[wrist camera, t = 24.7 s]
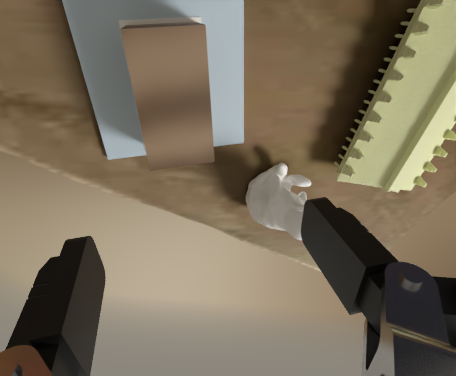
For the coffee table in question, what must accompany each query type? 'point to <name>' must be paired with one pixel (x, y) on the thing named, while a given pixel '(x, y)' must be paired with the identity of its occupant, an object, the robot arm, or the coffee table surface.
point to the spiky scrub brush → (408, 105)
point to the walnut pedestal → (171, 91)
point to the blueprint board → (119, 73)
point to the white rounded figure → (277, 200)
